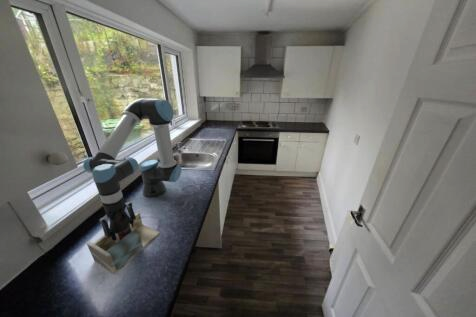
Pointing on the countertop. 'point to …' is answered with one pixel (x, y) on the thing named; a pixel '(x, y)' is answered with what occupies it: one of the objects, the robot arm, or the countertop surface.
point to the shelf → (136, 229)
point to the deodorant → (122, 227)
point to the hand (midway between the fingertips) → (125, 238)
